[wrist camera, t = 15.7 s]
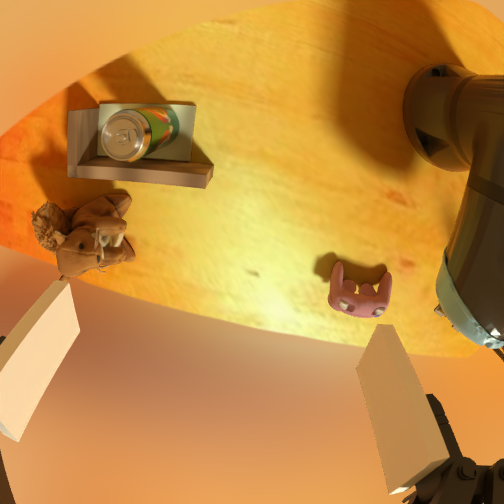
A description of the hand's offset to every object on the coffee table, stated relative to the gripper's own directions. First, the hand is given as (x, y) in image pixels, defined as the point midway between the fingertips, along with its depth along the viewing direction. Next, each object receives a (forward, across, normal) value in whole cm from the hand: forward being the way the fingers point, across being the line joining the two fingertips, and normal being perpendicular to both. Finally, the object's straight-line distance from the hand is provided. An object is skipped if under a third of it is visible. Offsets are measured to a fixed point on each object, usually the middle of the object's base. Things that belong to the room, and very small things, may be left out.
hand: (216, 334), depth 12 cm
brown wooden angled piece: (+29, -13, +4) cm, 32 cm away
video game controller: (+29, +19, -13) cm, 37 cm away
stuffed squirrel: (+29, -20, -9) cm, 37 cm away
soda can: (+28, -11, +5) cm, 31 cm away
